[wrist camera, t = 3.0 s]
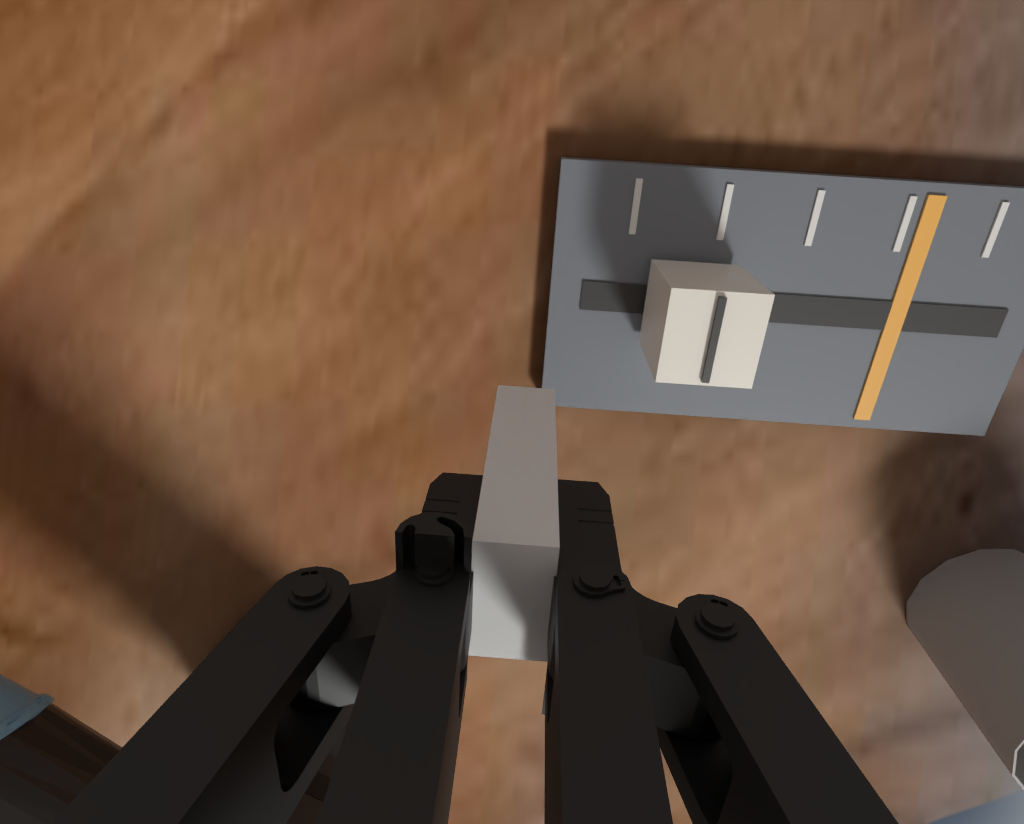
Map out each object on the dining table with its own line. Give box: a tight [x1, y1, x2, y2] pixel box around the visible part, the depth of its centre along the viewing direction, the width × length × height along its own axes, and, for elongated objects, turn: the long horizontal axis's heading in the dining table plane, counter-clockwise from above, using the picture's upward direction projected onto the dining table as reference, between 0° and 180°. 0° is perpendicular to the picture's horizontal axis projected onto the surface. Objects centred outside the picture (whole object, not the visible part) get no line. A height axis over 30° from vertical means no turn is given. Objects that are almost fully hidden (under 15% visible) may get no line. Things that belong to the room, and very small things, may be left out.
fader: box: [639, 259, 775, 389], centre depth 27 cm, size 4×4×5 cm
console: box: [541, 157, 1024, 436], centre depth 30 cm, size 23×12×1 cm, turn 87°
